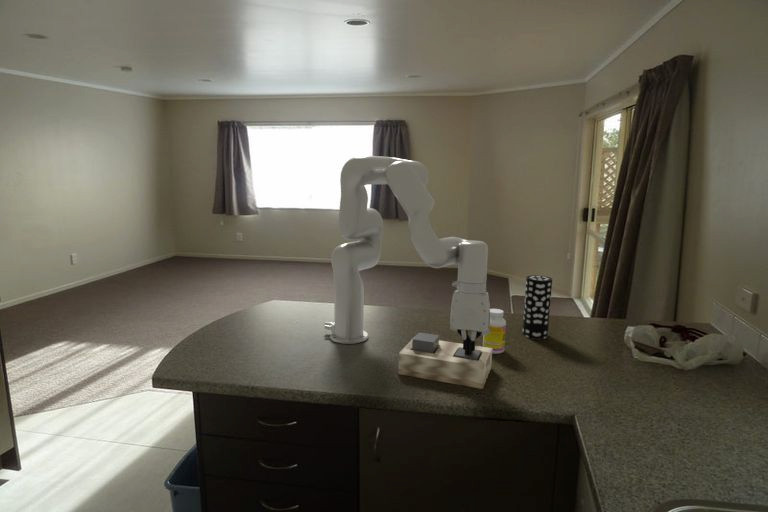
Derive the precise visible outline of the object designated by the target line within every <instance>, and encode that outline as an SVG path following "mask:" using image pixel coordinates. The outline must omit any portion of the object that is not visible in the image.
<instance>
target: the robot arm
mask: <svg viewBox="0 0 768 512" xmlns="http://www.w3.org/2000/svg"><path fill="white" fill-rule="evenodd" d="M429 174H430V173H429V171H428V169H427V167H426V165H424V164H423V163H422V162H420V161H417V160H410V159H409V160H408V159H404V158H399V157H391V156H379V155H358V156H355V157H352V158H350V159H348V160H347V161H346V162H345V163H344V165H343V166H342V168H341V172H340V181H339V182H340V201H339V211H338V233H339V235H340V236H341V237H342V238H343V239H345V240H357V241H351V242H346V243H342V244H339V245H337V246H336V247H335V248H334V249H333V250H332V252H331V254H330V255H331V256H330V260H331V261H330V263H331V267H332V268H331V269H332V272H333V273H332V274H333V283H334V284H333V286H334V287H333V288H334V291H333V292H334V295H333V296H334V298H333V299H334V304H333V305H334V307H333V308H334V318H333V319H334V320H333V322H331V321H325V322H324V330H330V331H331V332H330V333H329V339H330V340H331V341H332V342H335V343H337V344H342V345H348V344H349V345H351V344H352V345H355V344H359V343H363V342H366V341H367V340H368V337H369V334H368V332H367V331H366V330H365V329H364V313H365V311H364V303H365V302H364V301H365V300H364V299H365V297H364V295H365V294H364V293H365V291H364V289H365V288H364V281H363V279H362V276H361V274H360V271H363V270H367V269H372V268H373V267H375V266H377V264H378V263H379V261H380V258H381V252H382V242H383V235H384V221H383V217H382V215H381V214H380V212H379V211H378V210H377V209H375V208H372V207H368V204H369V203H368V202H369V196H368V195H369V194H368V191H367V189H366V186H367V185H388V186H389V188H390V190H391V191H392V193H393V195H394V197H396V199H397V201H398V202H399V205H401V207H402V209H403V211H404V213H406V215H407V218H408V224H407V225H408V227H407V228H408V233H409V239H410V241H411V244H412V246H413V247H414V249H415V250H416V252H417V254H418V255H419V257H420V259H421V260H422V261H423V263H425V264H426V265H427V266H429V267H431V268H434V269H441V268H444V267H448V266H452V265H453V266H454V265H456V264H457V280H455V281H452V282H451V286H452V287H455V288H456V289H455V290H454V291H453V295H452V298H451V299H452V300H451V305H450V306H451V308H450V314H449V315H450V316H449V317H450V318H449V325H450V326H449V330H451V331H453V332H456V333H457V334H459V336H461V337H460V338H461V339H462V340H463V341H462V344H463V350H465V354H469V355H471V354H472V352H473V351H475V346H476V340H477V339H478V338H479V337H481V336H483V335H489V334H490V328H489V325H490V309H491V304H490V296H489V292H487V279H488V278H487V277H488V276H487V275H488V273H487V272H488V259H489V258H488V257H489V246H488V244H487V243H486V242H484V241H482V240H474V239H466V238H461V237H457V236H449V237H442V238H439V237H438V236H437V234H436V232H435V231H434V229H433V228H432V225H431V223H430V220H429V219H430V216H429V215H430V212H431V211H432V210H433V208H434V206H435V200H434V198H433V197H432V195H431V193H430V192H429V191H428V189H427V187H426V186H427V185H428V182H429V180H430V175H429ZM469 331H470V332H471V335H469Z"/></svg>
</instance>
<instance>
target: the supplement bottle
mask: <svg viewBox="0 0 768 512" xmlns="http://www.w3.org/2000/svg"><path fill="white" fill-rule="evenodd" d="M504 314H505V312H504V310H502V309H500V308H490V325H489V328H490V334H489V335H482V336H483V337H482V347H487V348H492V355H493V354H495V355H499V354H502V353H504V352H505V348H506V346H505V345H506V331H507V330H506V329H507V321H506V320H505V318H504Z"/></svg>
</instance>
